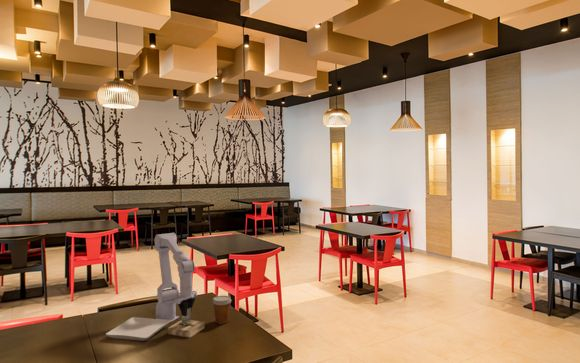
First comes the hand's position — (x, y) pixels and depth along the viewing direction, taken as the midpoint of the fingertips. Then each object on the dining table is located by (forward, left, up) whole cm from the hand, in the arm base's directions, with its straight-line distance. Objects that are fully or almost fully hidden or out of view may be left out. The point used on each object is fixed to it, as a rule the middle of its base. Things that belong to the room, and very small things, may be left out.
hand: (186, 314), depth 186 cm
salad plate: (-20, -9, -8) cm, 24 cm away
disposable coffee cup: (+10, +16, -8) cm, 21 cm away
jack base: (0, 0, -8) cm, 8 cm away
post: (0, 0, -4) cm, 4 cm away
